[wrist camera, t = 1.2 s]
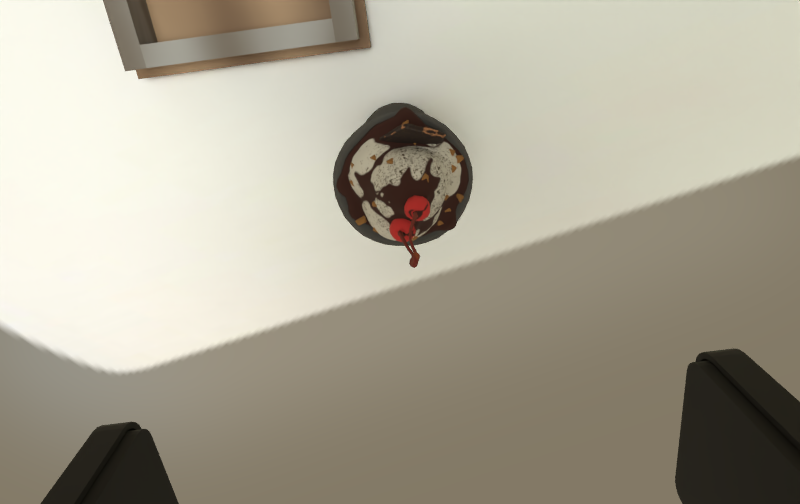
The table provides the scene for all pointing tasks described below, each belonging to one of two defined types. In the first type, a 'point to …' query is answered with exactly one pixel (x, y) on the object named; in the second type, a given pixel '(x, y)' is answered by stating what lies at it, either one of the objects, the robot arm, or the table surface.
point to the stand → (231, 32)
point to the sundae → (402, 178)
